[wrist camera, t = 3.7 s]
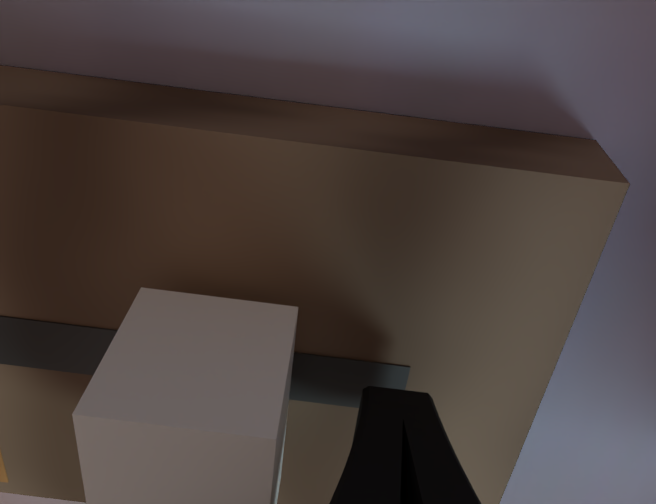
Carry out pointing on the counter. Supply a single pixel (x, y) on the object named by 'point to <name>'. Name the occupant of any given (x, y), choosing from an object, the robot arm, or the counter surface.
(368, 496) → the robot arm
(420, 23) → the counter surface
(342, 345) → the brown flat slab
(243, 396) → the fader
